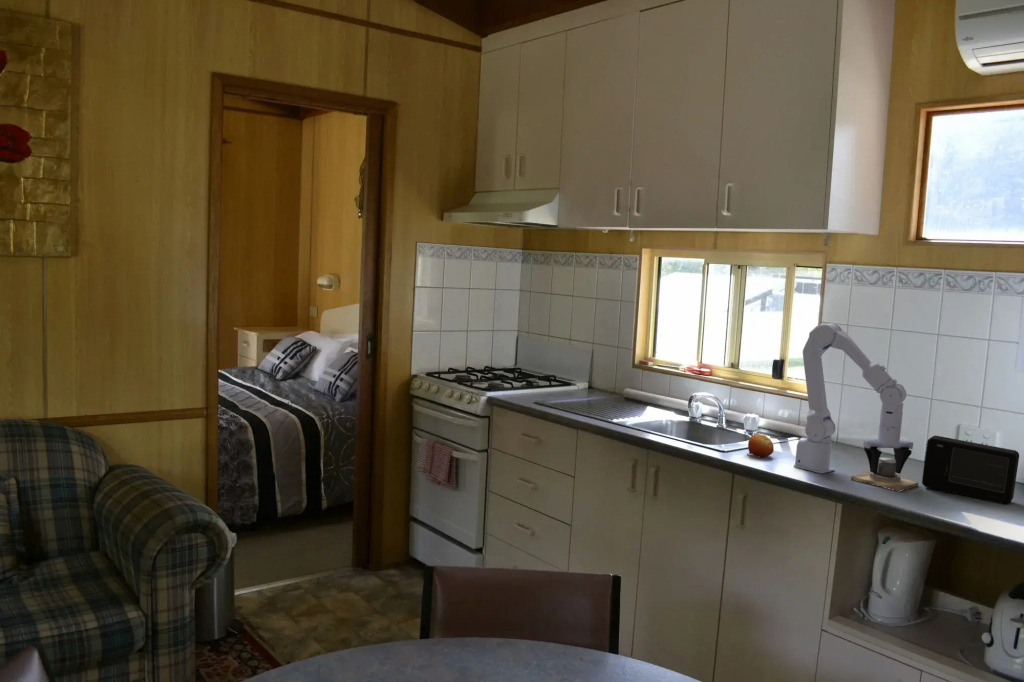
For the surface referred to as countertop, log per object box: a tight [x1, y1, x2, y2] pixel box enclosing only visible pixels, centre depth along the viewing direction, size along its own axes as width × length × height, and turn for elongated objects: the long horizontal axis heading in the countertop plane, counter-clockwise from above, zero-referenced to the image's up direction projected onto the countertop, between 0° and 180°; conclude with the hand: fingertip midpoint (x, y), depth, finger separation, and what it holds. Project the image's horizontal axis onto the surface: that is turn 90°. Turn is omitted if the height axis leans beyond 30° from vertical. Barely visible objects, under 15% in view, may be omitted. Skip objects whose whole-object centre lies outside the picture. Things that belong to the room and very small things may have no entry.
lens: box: [877, 457, 897, 478], centre depth 243 cm, size 5×5×6 cm
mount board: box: [850, 471, 919, 492], centre depth 244 cm, size 14×12×2 cm
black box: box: [921, 435, 1020, 505], centre depth 236 cm, size 23×10×15 cm, turn 50°
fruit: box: [746, 433, 774, 459], centre depth 269 cm, size 8×8×8 cm
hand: (885, 472), depth 244 cm, fingers open, 7 cm apart
